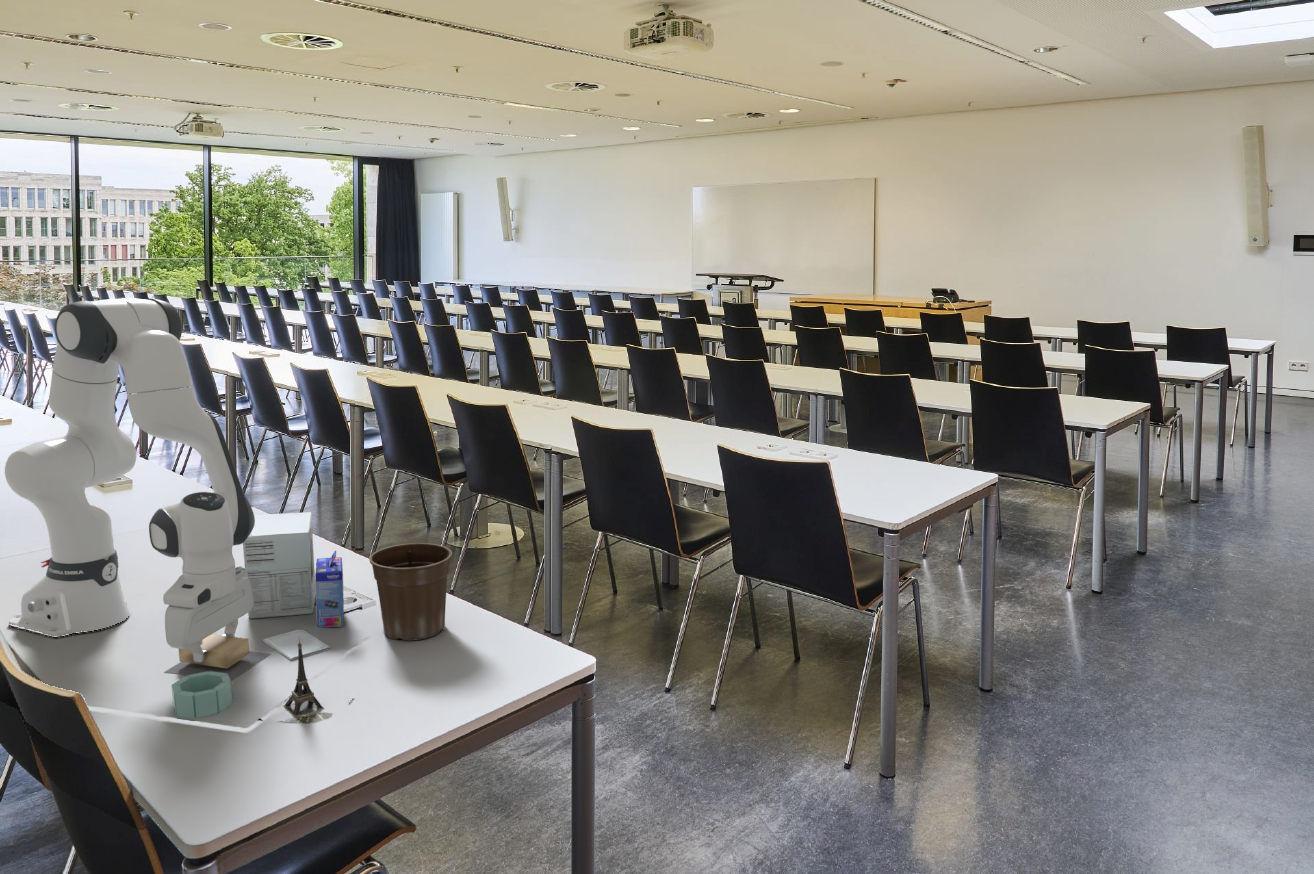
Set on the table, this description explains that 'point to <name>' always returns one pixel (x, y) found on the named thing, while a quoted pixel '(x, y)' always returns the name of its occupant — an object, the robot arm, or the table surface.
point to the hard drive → (296, 644)
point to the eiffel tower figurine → (304, 699)
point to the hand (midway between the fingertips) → (214, 651)
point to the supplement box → (281, 565)
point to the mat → (232, 671)
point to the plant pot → (412, 588)
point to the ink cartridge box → (329, 592)
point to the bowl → (201, 694)
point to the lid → (219, 651)
